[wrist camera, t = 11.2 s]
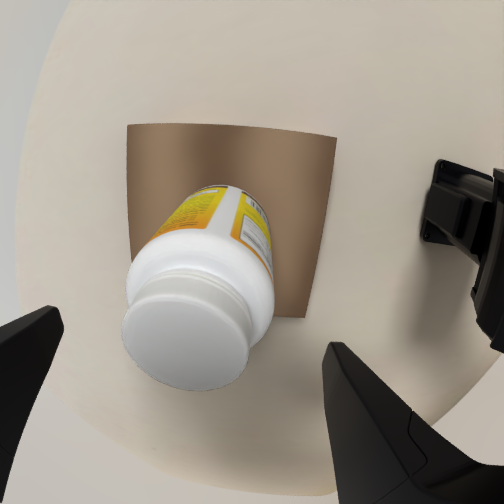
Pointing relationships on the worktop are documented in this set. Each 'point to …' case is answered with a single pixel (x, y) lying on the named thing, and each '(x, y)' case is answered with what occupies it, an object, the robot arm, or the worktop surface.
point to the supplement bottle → (201, 291)
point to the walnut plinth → (240, 176)
